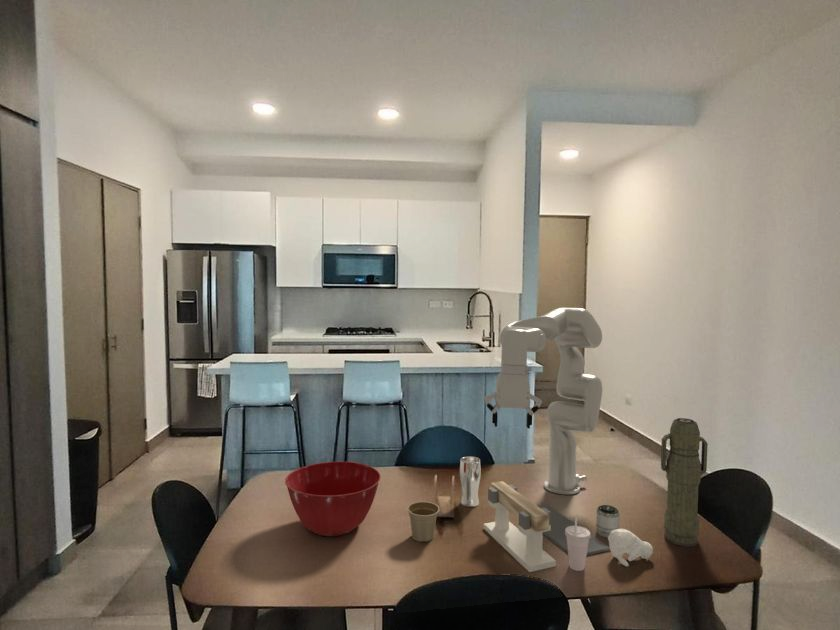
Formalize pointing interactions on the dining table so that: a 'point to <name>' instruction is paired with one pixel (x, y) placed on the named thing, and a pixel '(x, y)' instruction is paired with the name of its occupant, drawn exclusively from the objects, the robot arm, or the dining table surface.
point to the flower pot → (423, 520)
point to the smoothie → (577, 545)
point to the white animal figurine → (628, 546)
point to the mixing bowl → (332, 495)
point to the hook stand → (518, 536)
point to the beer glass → (470, 480)
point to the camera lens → (607, 520)
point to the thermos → (683, 481)
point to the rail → (521, 506)
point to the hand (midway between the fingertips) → (511, 426)
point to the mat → (559, 537)
